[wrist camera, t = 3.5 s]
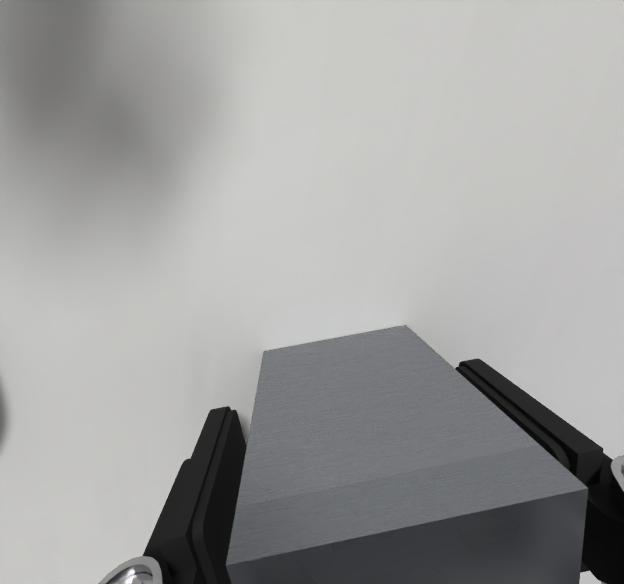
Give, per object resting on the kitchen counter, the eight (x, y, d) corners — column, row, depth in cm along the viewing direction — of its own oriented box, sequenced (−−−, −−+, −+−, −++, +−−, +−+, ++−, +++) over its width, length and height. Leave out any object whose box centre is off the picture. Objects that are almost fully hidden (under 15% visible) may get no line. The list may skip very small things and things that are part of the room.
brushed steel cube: (405, 325, 10) (588, 488, 4) (416, 443, 11) (567, 707, 5) (263, 351, 10) (225, 565, 4) (289, 469, 11) (293, 772, 5)
